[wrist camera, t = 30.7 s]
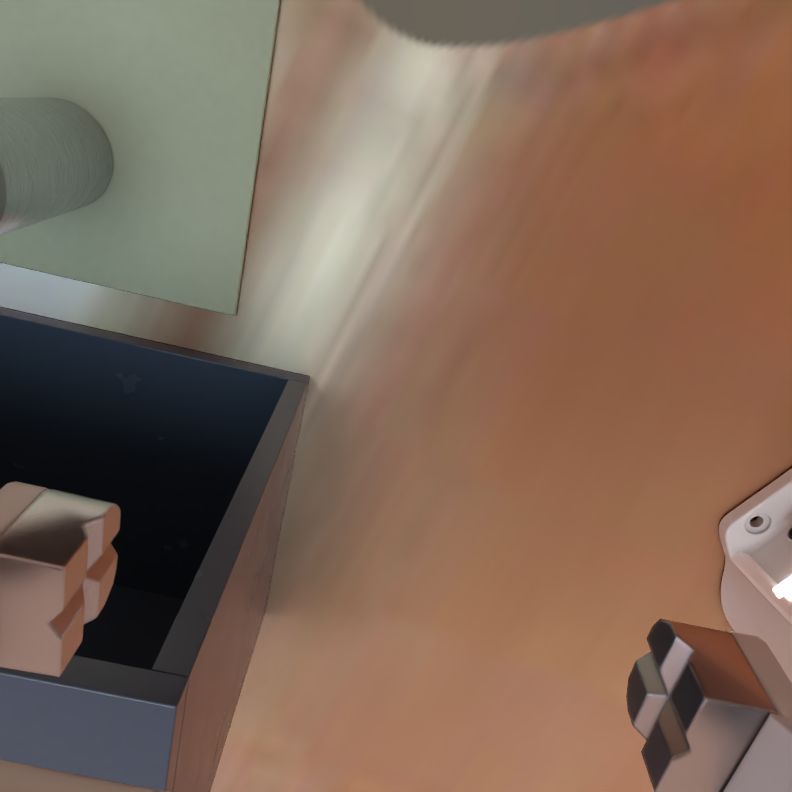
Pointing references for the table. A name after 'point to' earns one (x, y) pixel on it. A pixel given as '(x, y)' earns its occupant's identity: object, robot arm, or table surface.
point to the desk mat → (150, 137)
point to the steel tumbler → (49, 160)
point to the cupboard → (148, 541)
